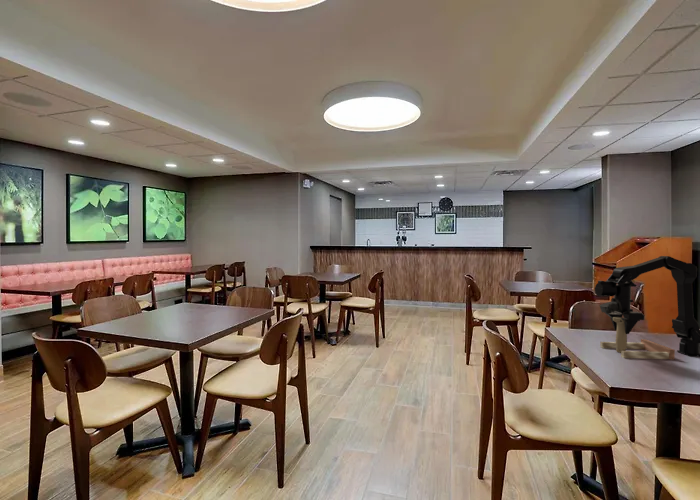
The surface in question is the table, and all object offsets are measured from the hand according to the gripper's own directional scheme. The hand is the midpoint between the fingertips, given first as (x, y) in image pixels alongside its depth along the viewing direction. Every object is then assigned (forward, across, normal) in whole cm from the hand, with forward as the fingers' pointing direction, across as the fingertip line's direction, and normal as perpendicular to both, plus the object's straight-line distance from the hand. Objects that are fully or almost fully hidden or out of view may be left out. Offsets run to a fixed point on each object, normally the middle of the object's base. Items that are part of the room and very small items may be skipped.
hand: (621, 332), depth 159 cm
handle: (+9, 0, 0) cm, 9 cm away
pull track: (+9, 0, +6) cm, 11 cm away
